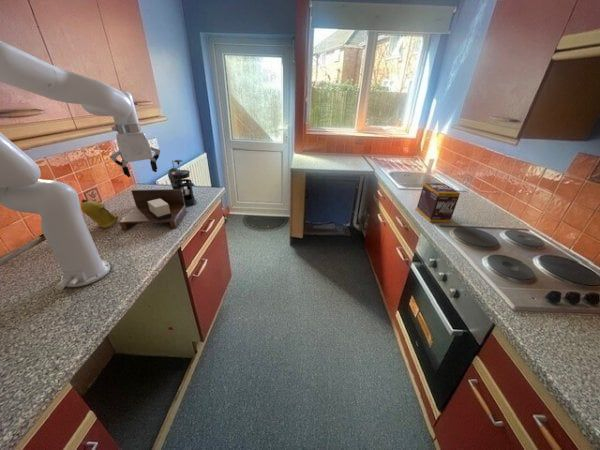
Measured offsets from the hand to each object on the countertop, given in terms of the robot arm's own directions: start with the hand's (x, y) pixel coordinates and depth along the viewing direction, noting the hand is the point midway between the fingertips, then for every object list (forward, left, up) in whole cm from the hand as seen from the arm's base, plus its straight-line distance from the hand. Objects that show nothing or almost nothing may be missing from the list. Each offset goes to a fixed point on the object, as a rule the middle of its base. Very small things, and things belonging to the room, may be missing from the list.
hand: (142, 173), depth 100 cm
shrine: (0, +20, -24) cm, 31 cm away
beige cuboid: (+3, -2, -20) cm, 20 cm away
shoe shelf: (+5, +1, -24) cm, 24 cm away
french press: (+24, -7, -24) cm, 34 cm away
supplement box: (0, -135, -24) cm, 137 cm away
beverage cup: (+37, 0, -24) cm, 44 cm away
